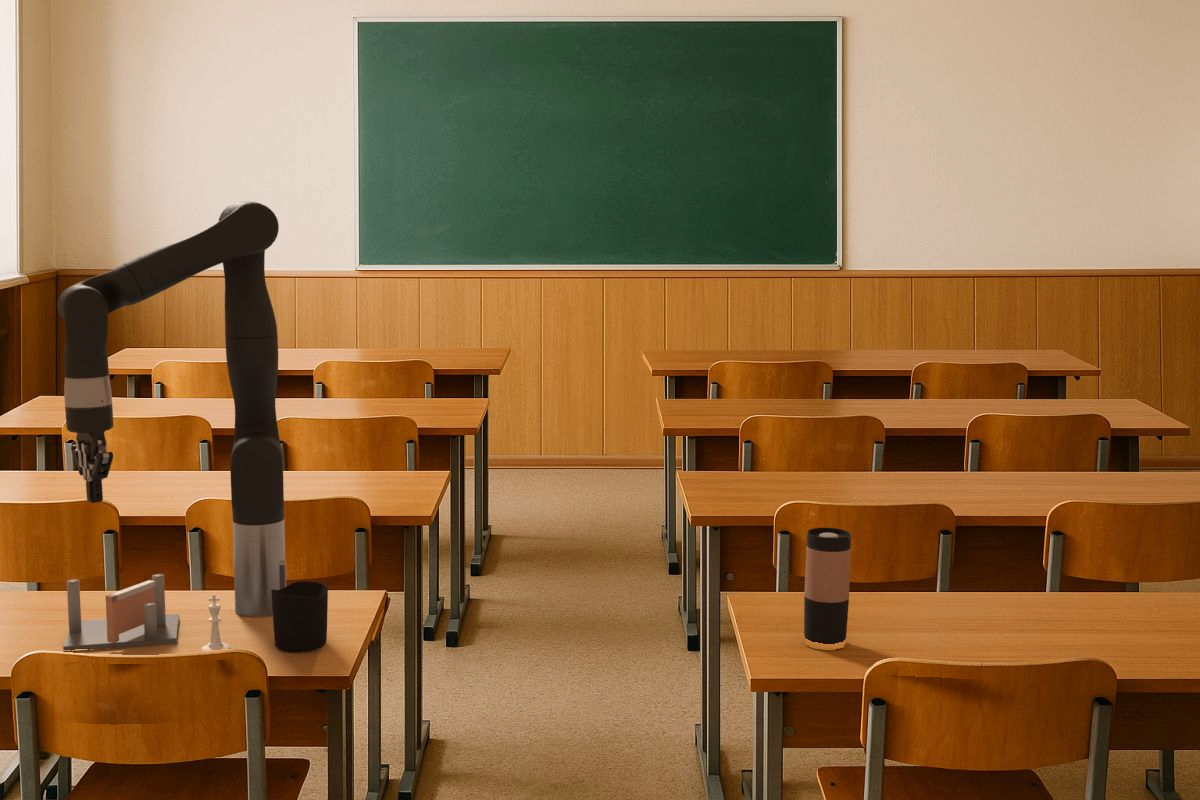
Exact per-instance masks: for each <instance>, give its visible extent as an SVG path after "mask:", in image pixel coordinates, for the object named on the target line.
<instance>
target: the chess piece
mask: <svg viewBox="0 0 1200 800" xmlns="http://www.w3.org/2000/svg"><path fill="white" fill-rule="evenodd" d="M211 595H212V597H208V601H209V602H212V603H211V604H209V605H208V606H207V608H208V611H209V614H210V617H209V618H208V620H207V621H208V622H209V623H211V630H210V631H211V632H210V641H209V642H208V644H205V645H203V646H202V647H201V648H200V652H201V651H211V650H221V649H231V646H230V644H229V643H225V642H223V640H221V636H220V635H221V634H220V628H219V622H221V621H222V617H219V614H220V610H221V604H219V603H217V602H219V601H220V600H221V599H220V597H217V596H216V595H217V594H216V593H213V594H211Z"/></svg>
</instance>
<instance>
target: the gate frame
mask: <svg viewBox="0 0 1200 800" xmlns="http://www.w3.org/2000/svg"><path fill="white" fill-rule="evenodd" d="M151 581H155V585H156V587H154V594H155V603H146V604H144V605H143V608H144V624H143V625H141V626H138V627H136V628H134V629H131V630H129V631H126V632H124V633H121V634H119V641H118V642H115V643H111V642H108V641H107V618H101V619H87V620H86V619H84V620H82V613H81V612H82V608H81V590H80V587H81V586H80V579H73V578H72V579H69V580H66V592H67V597H66V598H67V613H68V614H67V615H68V633H67V635H66V638H65V641H64V643H63V647H62V649H63V650H71V651H72V650H75V649H88V650H87V651H91V650H90V649H100V650H108V649H107V648H111V649H112V648H113V649H125V648H136V647H137V648H138V647H139V648H140V647H148V646H149V647H150V646H151V647H152V646H163V645H176V644H177V641H178V640H177V639H178V631H179V621H180V614H179V613H171V614H168V613H167V614H166V593H165V592H166V591H165V574H162V573H157V574H152V575H151ZM111 649H110V650H111ZM63 650H62V651H63Z"/></svg>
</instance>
